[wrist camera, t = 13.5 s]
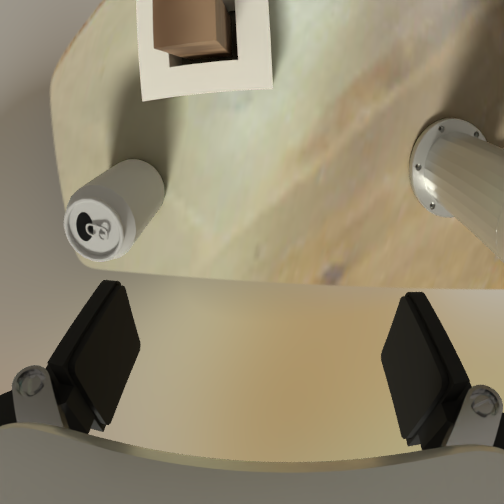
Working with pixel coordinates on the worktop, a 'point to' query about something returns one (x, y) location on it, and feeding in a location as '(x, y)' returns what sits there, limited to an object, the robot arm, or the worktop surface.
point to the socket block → (211, 73)
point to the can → (113, 210)
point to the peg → (192, 28)
